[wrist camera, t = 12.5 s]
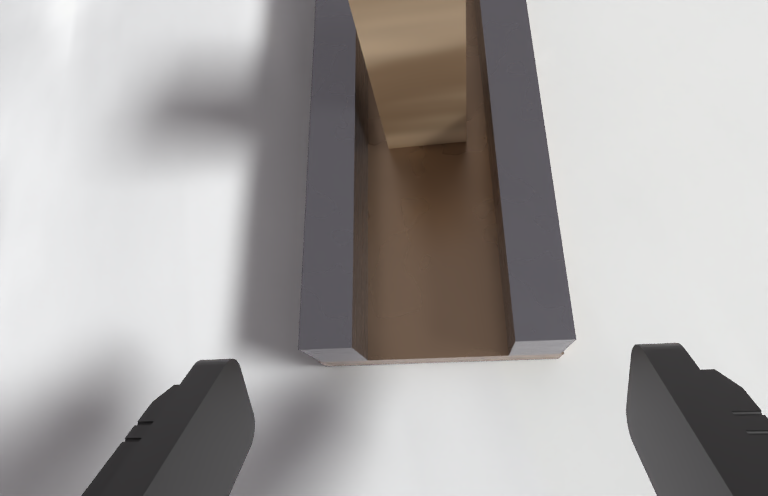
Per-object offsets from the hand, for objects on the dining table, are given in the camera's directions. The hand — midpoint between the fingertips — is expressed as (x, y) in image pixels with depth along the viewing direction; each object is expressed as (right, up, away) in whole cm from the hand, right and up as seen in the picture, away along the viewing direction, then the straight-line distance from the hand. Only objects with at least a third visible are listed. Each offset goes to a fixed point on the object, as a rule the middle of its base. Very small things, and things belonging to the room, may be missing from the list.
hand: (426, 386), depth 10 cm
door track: (+1, +8, +11) cm, 13 cm away
